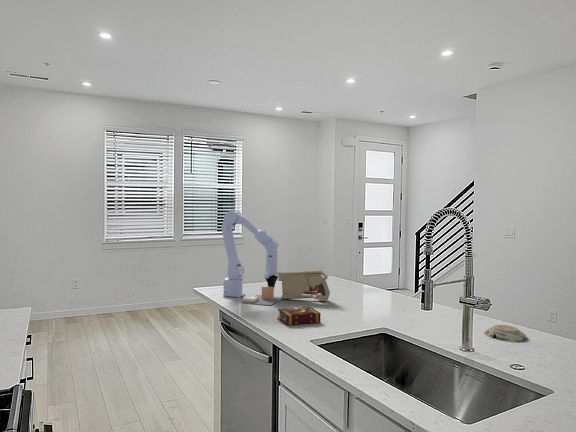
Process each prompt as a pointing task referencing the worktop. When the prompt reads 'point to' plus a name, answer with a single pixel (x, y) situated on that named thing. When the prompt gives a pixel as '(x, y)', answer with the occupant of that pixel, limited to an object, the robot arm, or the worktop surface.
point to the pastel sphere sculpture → (312, 289)
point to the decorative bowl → (506, 333)
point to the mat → (265, 301)
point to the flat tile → (250, 299)
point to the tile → (267, 292)
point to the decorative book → (299, 315)
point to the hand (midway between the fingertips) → (271, 290)
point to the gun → (303, 284)
